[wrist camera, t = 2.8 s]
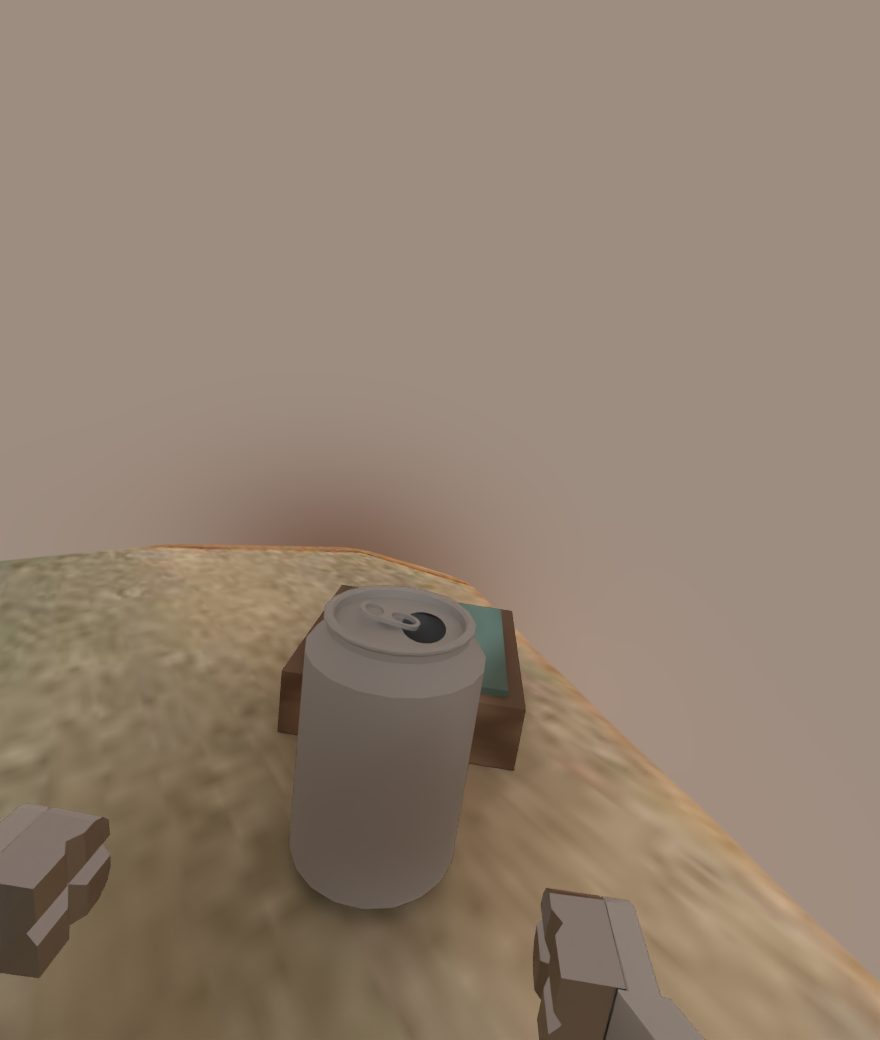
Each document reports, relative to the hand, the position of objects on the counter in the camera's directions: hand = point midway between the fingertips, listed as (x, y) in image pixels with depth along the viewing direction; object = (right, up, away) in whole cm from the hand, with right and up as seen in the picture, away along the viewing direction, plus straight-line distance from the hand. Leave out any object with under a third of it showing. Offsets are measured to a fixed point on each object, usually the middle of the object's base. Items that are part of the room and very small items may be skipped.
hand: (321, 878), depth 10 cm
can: (-1, -9, +15) cm, 18 cm away
